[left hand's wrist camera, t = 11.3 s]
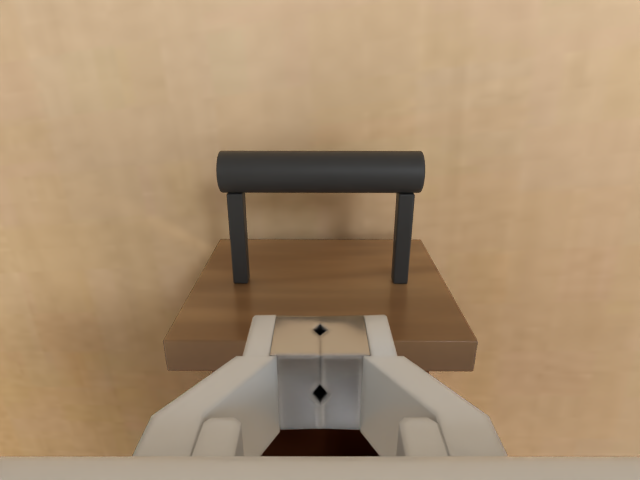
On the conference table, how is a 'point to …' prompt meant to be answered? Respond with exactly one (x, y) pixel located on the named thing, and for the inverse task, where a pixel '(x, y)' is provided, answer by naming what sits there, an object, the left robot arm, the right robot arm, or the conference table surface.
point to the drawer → (320, 277)
